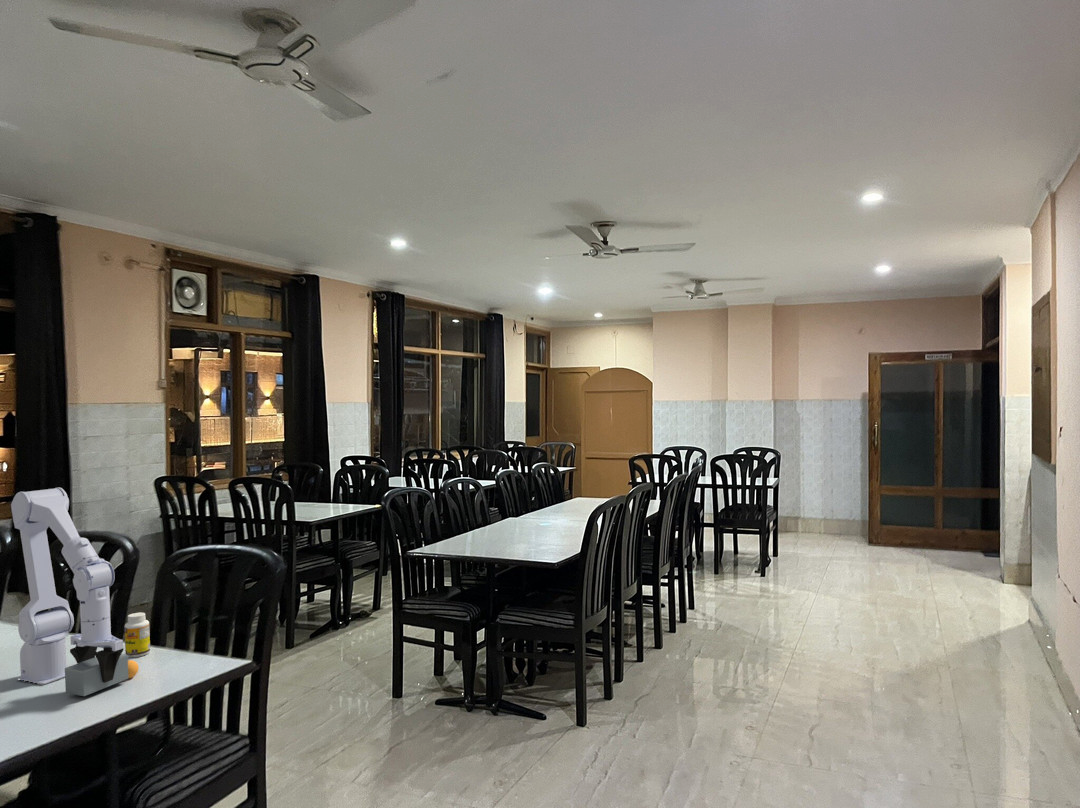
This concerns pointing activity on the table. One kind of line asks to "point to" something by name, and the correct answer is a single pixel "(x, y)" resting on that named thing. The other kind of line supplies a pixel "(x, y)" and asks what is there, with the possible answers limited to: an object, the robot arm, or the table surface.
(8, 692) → the table surface
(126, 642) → the supplement bottle
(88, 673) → the grey rectangular block
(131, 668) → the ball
